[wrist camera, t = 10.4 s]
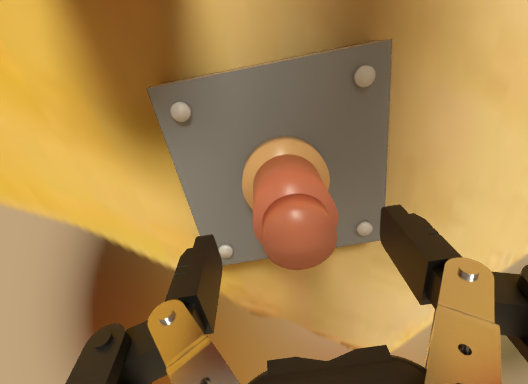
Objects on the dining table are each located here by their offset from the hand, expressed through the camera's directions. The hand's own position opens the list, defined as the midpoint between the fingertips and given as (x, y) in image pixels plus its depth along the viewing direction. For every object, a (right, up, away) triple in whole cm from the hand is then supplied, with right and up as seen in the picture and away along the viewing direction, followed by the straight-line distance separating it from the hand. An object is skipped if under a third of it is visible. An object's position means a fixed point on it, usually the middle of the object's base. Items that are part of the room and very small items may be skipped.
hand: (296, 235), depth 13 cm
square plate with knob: (0, +4, +9) cm, 10 cm away
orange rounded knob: (0, +2, +5) cm, 6 cm away
